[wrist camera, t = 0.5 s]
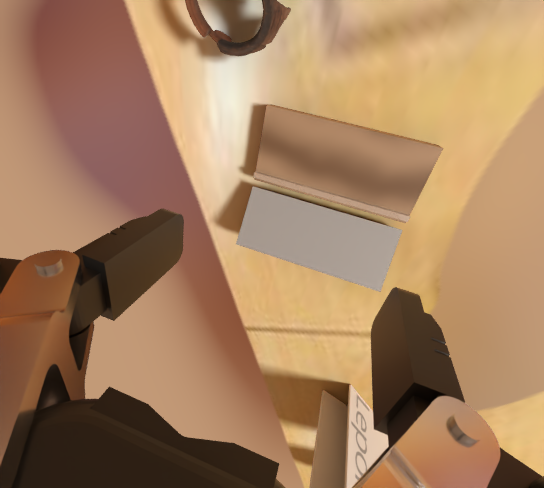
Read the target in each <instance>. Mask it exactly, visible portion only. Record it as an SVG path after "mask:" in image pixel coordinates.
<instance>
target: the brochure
mask: <svg viewBox="0 0 544 488" xmlns="http://www.w3.org/2000/svg"><path fill="white" fill-rule="evenodd" d="M388 446H389V445H388V435H386V434H384V433H381V432H379V431H376V430H374V425H373V411H372V410H371V408H370V407H369V406H368V405H367V404H366V402H365V401H364V400H363V399H362V397H361V396H360V395H359V394H358V393H357V391H356V390H355V389H354V388H353V386H352V385H351V384H349V397H348V406H347V405H345V404H344V403H342V402H341V401H339V400H338V399H336V398H335V397H333V396H332V395H330V394H329V393H327V392H326V391H325V390H322V398H321V405H320V413H319V420H318V427H317V435H316V442H315V450H314V457H313V465H312V472H311V480H310V487H309V488H352V487H353V485H354V484H355V483H356V482H357V481H358V480H359V479H360V477H361V476H362V475H363V474H364V473H365V472H366V471H367V470H368V468H369V467H370V466H371V465H372V464H373V463H374V462H375V460H376V459H377V458H378V457H379V456H380V455H381V454H382V453H383V451H384V450H385V449H386V448H387V447H388Z"/></svg>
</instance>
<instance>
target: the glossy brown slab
mask: <svg viewBox="0 0 544 488" xmlns="http://www.w3.org/2000/svg"><path fill="white" fill-rule="evenodd" d="M442 150H443V148H442V147H440V146H439V145H436V144H431V143H427V142H423V141H419V140H415V139H411V138H407V137H403V136H399V135H394V134H390V133H386V132H382V131H378V130H374V129H370V128H366V127H362V126H358V125H353V124H349V123H345V122H341V121H337V120H333V119H329V118H325V117H321V116H316V115H312V114H308V113H304V112H300V111H296V110H292V109H288V108H284V107H280V106H275V105H266V111H265V117H264V123H263V129H262V135H261V142H260V148H259V154H258V160H257V166H256V171H255V172H254V176H253V178H254V179H255V180H258V181H262V182H265V183H268V184H272V185H275V186H279V187H282V188H286V189H289V190H293V191H296V192H300V193H303V194H306V195H310V196H313V197H317V198H320V199H324V200H327V201H331V202H334V203H338V204H341V205H345V206H348V207H351V208H355V209H358V210H362V211H365V212H369V213H372V214H376V215H379V216H383V217H386V218H389V219H393V220H396V221H400V222H403V223H406V222H408V220H409V219H410V213H411V211H412V209H413V207H414V205H415V203H416V201H417V199H418V197H419V195H420V193H421V191H422V189H423V188H424V186H425V184H426V182H427V180H428V178H429V176H430V174H431V172H432V170H433V168H434V166H435V164H436V162H437V160H438V158H439V156H440V154H441V152H442Z"/></svg>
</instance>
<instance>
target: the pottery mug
mask: <svg viewBox="0 0 544 488" xmlns="http://www.w3.org/2000/svg"><path fill="white" fill-rule="evenodd" d="M185 2H186V6H187V10H188V12H189V14H190V17H191V19H192V21H193V24H194V25H195V27H196V28H197V30H198V31H199V33H200V34H201V35H202V36H203V37H206V36H207V35H208V34H209V35H210V36H211V37H212V38H213V39H214V40H215V41H216V42H217V45H218V47H219V49H220V51H221V52H222V53H224V54H227V55H235V56H243V55H247V54H250V53H254V52H257V51H260V50H262V49H264V48H265V47H266V44H269V43H271V42H272V40H273V39H274V37H275V36H276V34H277V32H278V30H279V28H280V27H281V25H282V23H283V22H284V20H285V19H286V18H287V16H288V14H289V13H290V11H291V9H290V8H289V7H288V8H286V7H285V6H283V5H282V4H280V3H279V2H278V1H277V0H262V4H263V9H264V10H263V19H262V23H261V27H260V29H259V31H258V33H257V34H256V35H255V36H254V37H253V38H252V39H251V40H248V41H246V42H243V43H234V42H232V41H231V38H230V37H229V36H228V35H226V34H224V33H223V32H221V31H218V30H215V31H213V30H212V29H211V27H210V26H209V25H208V23H207V22H206V20H205V18H204V17H203V15H202V13H201V10H200V8H199V5H198V1H197V0H185Z"/></svg>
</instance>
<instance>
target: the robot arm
mask: <svg viewBox="0 0 544 488" xmlns="http://www.w3.org/2000/svg"><path fill="white" fill-rule="evenodd" d="M183 224H184V220H183V216H182V215H180V214H177V213H175V212H172V211H168V210H165V209H160V210H158V211H156V212H154V213H153V214H151V215H149V216H147V217H141V218H137V219H134V220H131V221H129V222H127V223H125V224H123V225H122V226H120V228H116V229H114V230H113V231H111V232H110V234H109V233H107V234H106V235H104V236H102V237H100V238H98V239H96V240H95V241H93V242H91V243H90V244H88V245H86V246H84V247H82V248H80V249H78V250H77V251H75V252H73V253H72V252H69V251H64V250H50V251H44V252H40V253H37V254H34V255H31V256H29V257H27V258H25V259H24V260H15V259H6V258H0V488H285V487H284V486H283V485H282V484H281V483H280V482H279V481H278V480H277V479H276V475H277V471H278V466H279V463H277V462H274V461H272V460H270V459H268V458H266V457H263V456H261V455H259V454H257V453H255V452H252V451H250V450H248V449H246V448H243V447H241V446H239V445H237V444H235V443H227V442H219V441H211V440H203V439H195V438H187V437H184V436H182V435H181V434H179V433H178V432H177V431H176V430H175V429H174V428H173V427H172V426H171V425H170V424H169V423H167V422H166V421H165V420H164V419H163V418H162V417H161V416H160V415H159V414H158V413H157V412H155V410H154V409H153V408H151V407H150V406H149V405H148V404H146V403H144V402H142V401H140V400H137V399H135V398H133V397H131V396H129V395H126V394H124V393H122V392H120V391H118V390H115V389H113V388H111V387H109V388H108V389H107V390H106V391H105V393H103V395H102V396H101V397H100V398H99V399H85V375H86V369H87V364H88V359H89V353H90V348H91V342H92V337H93V331H94V322H93V321H94V320H95V319H96V318H98V317H99V316H100V315H101V316H103V317H106V318H108V319H111V320H113V321H114V320H115V319H116V318H117V317H119V316H120V315H121V314H122V313H123V312H124V311H125V310H126V309H127V308H128V307H129V306H131V304H133V303H134V302H135V301H136V300H137V299H138V298H139V297H140V296H141V295H142V294H144V292H146V291H147V290H148V289H149V288H150V287H151V286H152V285H153V284H154V283H155V282H156V281H158V280H159V279H160V278H161V277H162V276H163V275H164V274H165V273H166V272H167V271H169V270H170V269H171V268H172V267H173V266H174V265H175V264H176V263H177V262H178V260H179V259H180V257H181V254H182V251H183ZM445 343H446V342H445V339H444V336H443V333H442V330H441V328H440V327H439V325H438V324H437V322H436V321H435V320H434V319H433V317H432V316H431V315H430V314H427V313H424V310H423V306H422V303H421V299H420V296H419V295H417V294H415V293H412V292H409V291H406V290H403V289H400V288H397V287H395V288H393V289H392V290H391V292H390V294H389V295H388V297H387V299H386V300H385V302H384V304H383V305H382V307H381V309H380V311H379V312H378V314H377V316H376V318H375V320H374V322H373V325H372V329H371V357H372V391H373V425H374V430H376V431H379V432H381V433H384V434H386V435H388V445H389V446H388V447H387V448H386V449H385V450H384V451H383V453H382V454H381V455H380V456H379V457H378V458H377V459H376V460H375V462H374V463H373V464H372V465H371V466H370V467H369V468H368V470H367V471H366V472H365V473H364V474H363V475H362V476H361V477H360V479H359V480H358V481H357V482H356V483H355V484H354V485H353V487H352V488H544V476H543V477H542V476H541V475H539V474H538V473H536V472H535V471H533V470H532V469H531V468H529V467H528V466H526V465H525V464H523V463H522V462H520V461H519V460H517V459H516V458H514V457H513V456H511V455H510V454H508V453H507V452H505V451H504V450H503V449H501V448H500V447H499V444H498V441H497V438H496V436H495V434H494V433H493V431H492V429H491V428H490V426H489V425H488V424H487V422H486V421H485V420H484V419H483V418H482V417H481V416H480V415H479V414H478V413H477V412H476V411H475V410H474V409H472V408H471V407H470V406H468V405H467V404H466V403H465V401H464V398H463V394H462V391H461V388H460V385H459V382H458V379H457V376H456V373H455V370H454V367H453V364H452V361H451V358H450V357H449V355H450V354H449V351H448V348H447V346H446V345H445Z"/></svg>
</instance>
